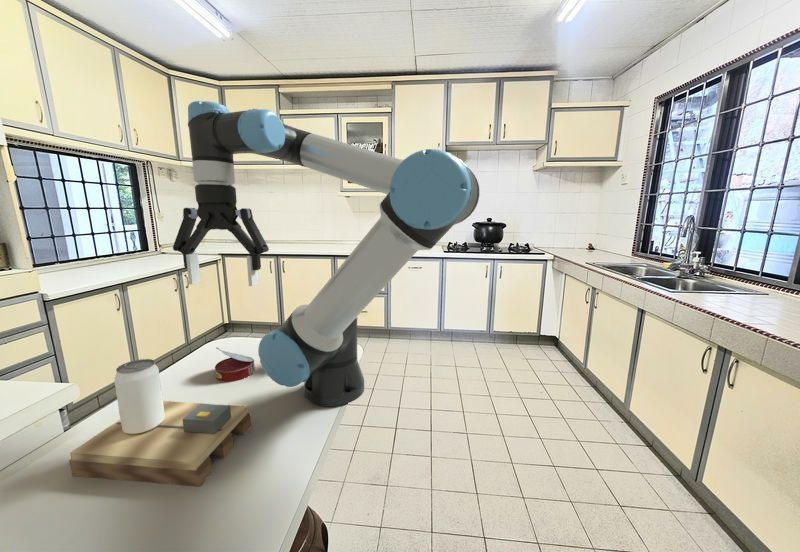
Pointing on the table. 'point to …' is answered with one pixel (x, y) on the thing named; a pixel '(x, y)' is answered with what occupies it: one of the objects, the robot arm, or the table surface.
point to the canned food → (234, 367)
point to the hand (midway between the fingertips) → (224, 284)
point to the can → (139, 396)
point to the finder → (207, 418)
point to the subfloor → (159, 449)
